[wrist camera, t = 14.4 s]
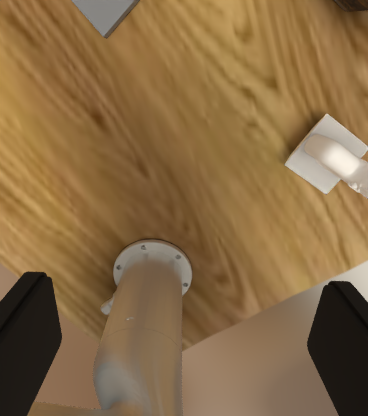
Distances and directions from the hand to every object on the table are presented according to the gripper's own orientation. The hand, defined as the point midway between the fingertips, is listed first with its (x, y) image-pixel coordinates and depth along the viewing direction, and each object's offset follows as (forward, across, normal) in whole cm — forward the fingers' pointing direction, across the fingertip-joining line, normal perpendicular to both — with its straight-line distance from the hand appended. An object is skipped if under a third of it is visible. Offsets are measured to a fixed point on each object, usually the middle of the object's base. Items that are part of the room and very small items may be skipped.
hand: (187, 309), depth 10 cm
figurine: (+30, -17, 0) cm, 35 cm away
